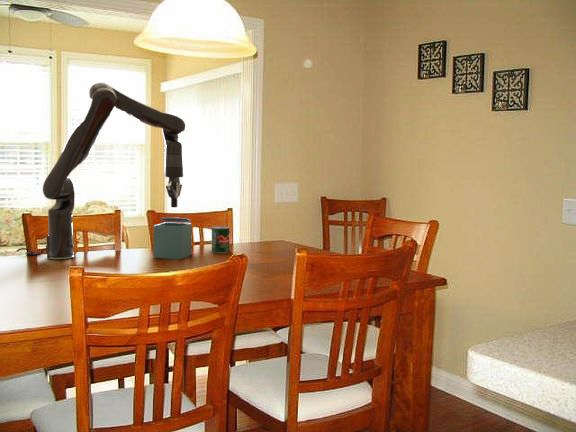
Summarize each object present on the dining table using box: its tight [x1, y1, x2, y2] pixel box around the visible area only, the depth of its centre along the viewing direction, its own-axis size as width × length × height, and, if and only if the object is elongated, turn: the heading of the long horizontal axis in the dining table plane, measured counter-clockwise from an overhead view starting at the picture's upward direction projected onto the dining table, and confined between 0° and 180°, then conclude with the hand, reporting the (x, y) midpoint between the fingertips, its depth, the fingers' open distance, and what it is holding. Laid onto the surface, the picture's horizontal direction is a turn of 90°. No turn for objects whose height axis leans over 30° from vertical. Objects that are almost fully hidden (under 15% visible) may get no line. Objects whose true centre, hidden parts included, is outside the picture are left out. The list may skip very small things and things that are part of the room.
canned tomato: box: [211, 225, 231, 254], centre depth 266 cm, size 8×8×11 cm
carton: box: [153, 221, 192, 260], centre depth 252 cm, size 12×12×14 cm
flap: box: [159, 217, 192, 223], centre depth 255 cm, size 12×6×1 cm, turn 80°
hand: (174, 207), depth 253 cm, fingers closed
